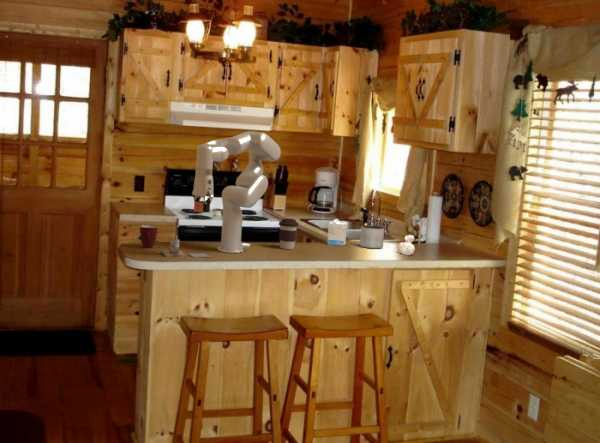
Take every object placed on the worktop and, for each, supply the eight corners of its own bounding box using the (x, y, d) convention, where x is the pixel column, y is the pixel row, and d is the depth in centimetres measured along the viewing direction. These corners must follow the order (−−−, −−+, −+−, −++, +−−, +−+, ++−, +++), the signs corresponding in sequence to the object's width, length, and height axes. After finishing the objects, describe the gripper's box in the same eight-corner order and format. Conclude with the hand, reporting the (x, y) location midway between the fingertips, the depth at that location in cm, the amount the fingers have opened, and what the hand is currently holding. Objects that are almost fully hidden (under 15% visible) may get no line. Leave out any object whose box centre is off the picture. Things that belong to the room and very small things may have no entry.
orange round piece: (211, 212, 375) (212, 202, 374) (199, 212, 371) (200, 202, 370) (203, 210, 380) (204, 200, 379) (191, 210, 376) (191, 200, 375)
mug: (158, 249, 386) (159, 228, 385) (141, 249, 384) (142, 228, 382) (155, 245, 396) (156, 225, 395) (138, 245, 393) (139, 225, 392)
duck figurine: (413, 260, 422) (425, 243, 424) (405, 252, 418) (417, 234, 421) (399, 256, 432) (410, 239, 434) (390, 248, 428) (402, 231, 431)
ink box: (342, 246, 438) (344, 221, 436) (326, 244, 440) (328, 219, 438) (345, 244, 446) (347, 219, 444) (330, 242, 448) (332, 218, 447)
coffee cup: (274, 248, 414) (276, 219, 412) (281, 245, 424) (283, 217, 422) (292, 250, 411) (294, 221, 409) (299, 248, 420) (301, 219, 418)
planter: (376, 250, 433) (378, 229, 431) (355, 246, 439) (357, 226, 437) (386, 247, 444) (388, 227, 442) (365, 244, 450) (367, 224, 448)
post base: (181, 252, 383) (182, 238, 382) (188, 256, 374) (188, 241, 373) (160, 253, 378) (161, 238, 377) (166, 257, 369) (167, 241, 368)
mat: (204, 254, 383) (204, 253, 383) (210, 257, 376) (210, 256, 376) (188, 254, 380) (188, 253, 380) (193, 257, 373) (193, 256, 373)
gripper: (221, 174, 369) (219, 213, 371) (200, 170, 382) (198, 208, 384) (207, 174, 364) (205, 214, 366) (186, 170, 377) (184, 208, 379)
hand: (201, 210), depth 375 cm, fingers closed on orange round piece, 6 cm apart
